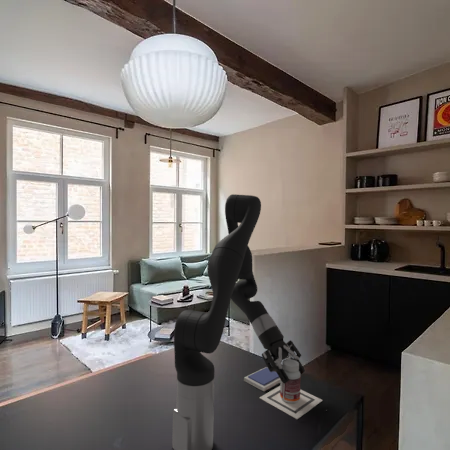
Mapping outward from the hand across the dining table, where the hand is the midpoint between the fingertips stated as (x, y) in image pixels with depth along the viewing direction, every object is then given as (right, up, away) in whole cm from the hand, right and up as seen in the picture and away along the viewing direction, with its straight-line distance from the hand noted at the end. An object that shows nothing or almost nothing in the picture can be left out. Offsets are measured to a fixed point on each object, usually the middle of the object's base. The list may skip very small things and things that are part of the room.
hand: (295, 377), depth 97 cm
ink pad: (-8, -7, +13) cm, 16 cm away
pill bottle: (-1, -7, +1) cm, 8 cm away
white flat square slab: (-1, -7, +1) cm, 8 cm away
